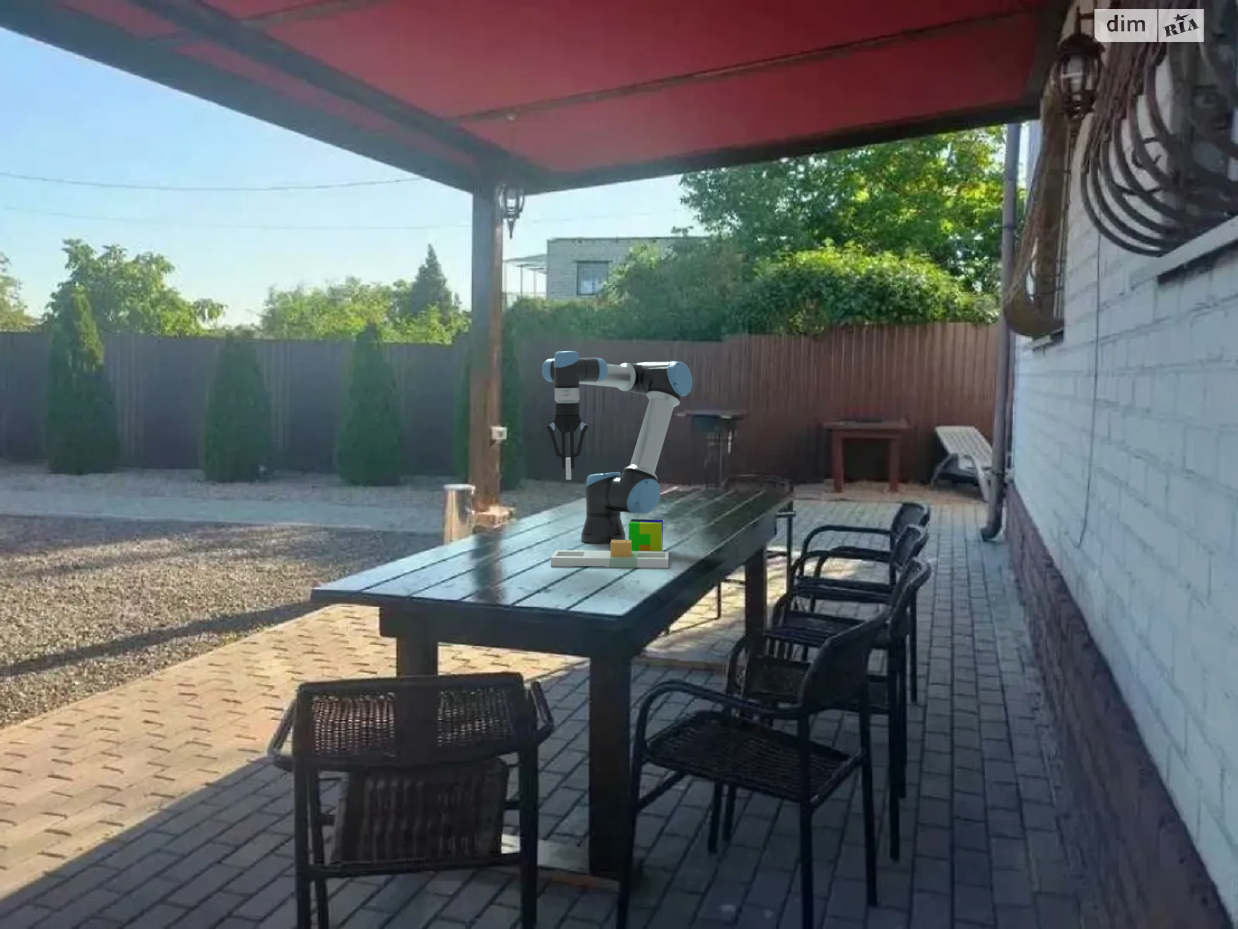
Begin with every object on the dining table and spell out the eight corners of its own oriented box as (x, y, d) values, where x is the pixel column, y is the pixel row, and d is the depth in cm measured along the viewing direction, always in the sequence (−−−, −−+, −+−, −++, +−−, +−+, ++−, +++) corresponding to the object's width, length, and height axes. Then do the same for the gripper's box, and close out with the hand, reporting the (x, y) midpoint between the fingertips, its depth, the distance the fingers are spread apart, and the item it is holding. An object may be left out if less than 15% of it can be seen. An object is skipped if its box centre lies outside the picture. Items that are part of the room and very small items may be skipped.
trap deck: (556, 558, 306) (556, 550, 306) (668, 559, 304) (668, 551, 304) (550, 566, 292) (550, 557, 292) (668, 567, 291) (668, 559, 290)
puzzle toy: (662, 550, 322) (662, 519, 321) (660, 555, 312) (661, 523, 312) (631, 550, 323) (631, 519, 322) (628, 555, 313) (628, 523, 313)
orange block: (611, 553, 301) (611, 539, 301) (631, 553, 301) (631, 540, 300) (610, 556, 295) (610, 542, 295) (630, 556, 295) (631, 543, 294)
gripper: (544, 402, 303) (546, 480, 305) (588, 402, 303) (589, 480, 305) (546, 402, 311) (548, 478, 313) (588, 401, 311) (590, 477, 313)
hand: (568, 479), depth 309 cm, fingers closed
